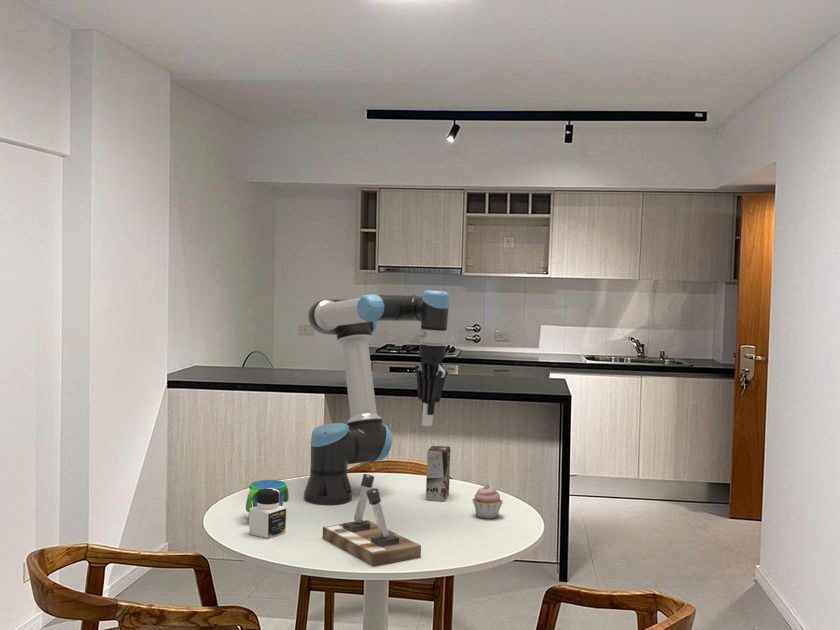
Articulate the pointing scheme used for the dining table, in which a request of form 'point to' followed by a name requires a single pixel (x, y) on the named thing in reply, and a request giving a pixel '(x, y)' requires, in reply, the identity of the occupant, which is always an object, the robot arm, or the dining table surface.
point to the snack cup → (264, 484)
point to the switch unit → (371, 543)
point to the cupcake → (487, 502)
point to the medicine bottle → (267, 515)
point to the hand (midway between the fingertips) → (427, 425)
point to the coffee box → (438, 473)
